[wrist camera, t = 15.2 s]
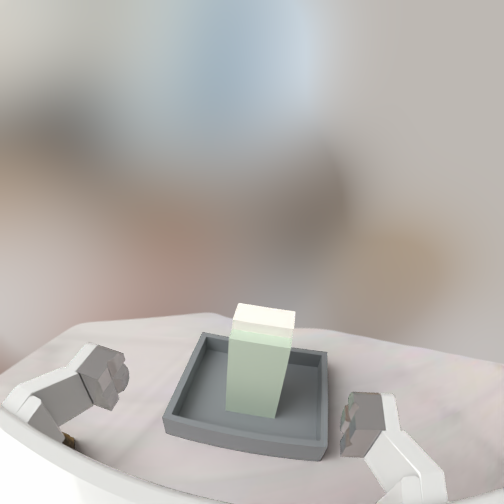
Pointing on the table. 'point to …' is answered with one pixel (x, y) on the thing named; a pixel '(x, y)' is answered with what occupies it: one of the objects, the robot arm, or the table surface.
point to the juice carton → (258, 359)
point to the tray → (249, 426)
